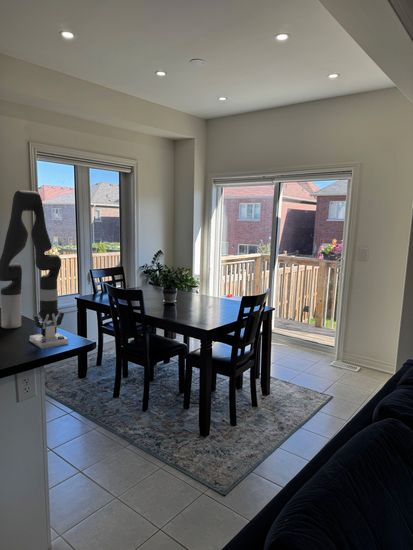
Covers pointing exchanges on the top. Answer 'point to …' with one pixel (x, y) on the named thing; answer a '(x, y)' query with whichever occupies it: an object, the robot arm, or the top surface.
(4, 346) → the top surface
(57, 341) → the socket
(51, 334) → the plug
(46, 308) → the robot arm
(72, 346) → the top surface
